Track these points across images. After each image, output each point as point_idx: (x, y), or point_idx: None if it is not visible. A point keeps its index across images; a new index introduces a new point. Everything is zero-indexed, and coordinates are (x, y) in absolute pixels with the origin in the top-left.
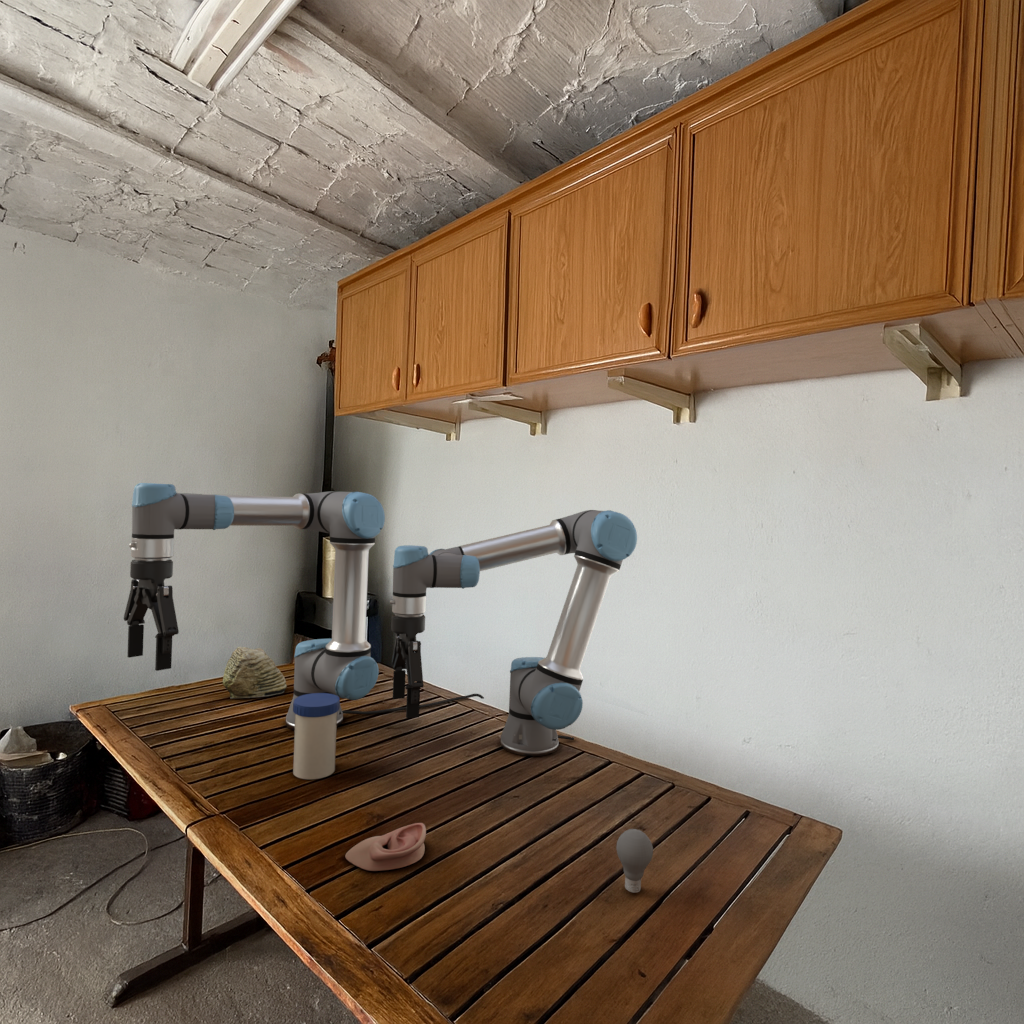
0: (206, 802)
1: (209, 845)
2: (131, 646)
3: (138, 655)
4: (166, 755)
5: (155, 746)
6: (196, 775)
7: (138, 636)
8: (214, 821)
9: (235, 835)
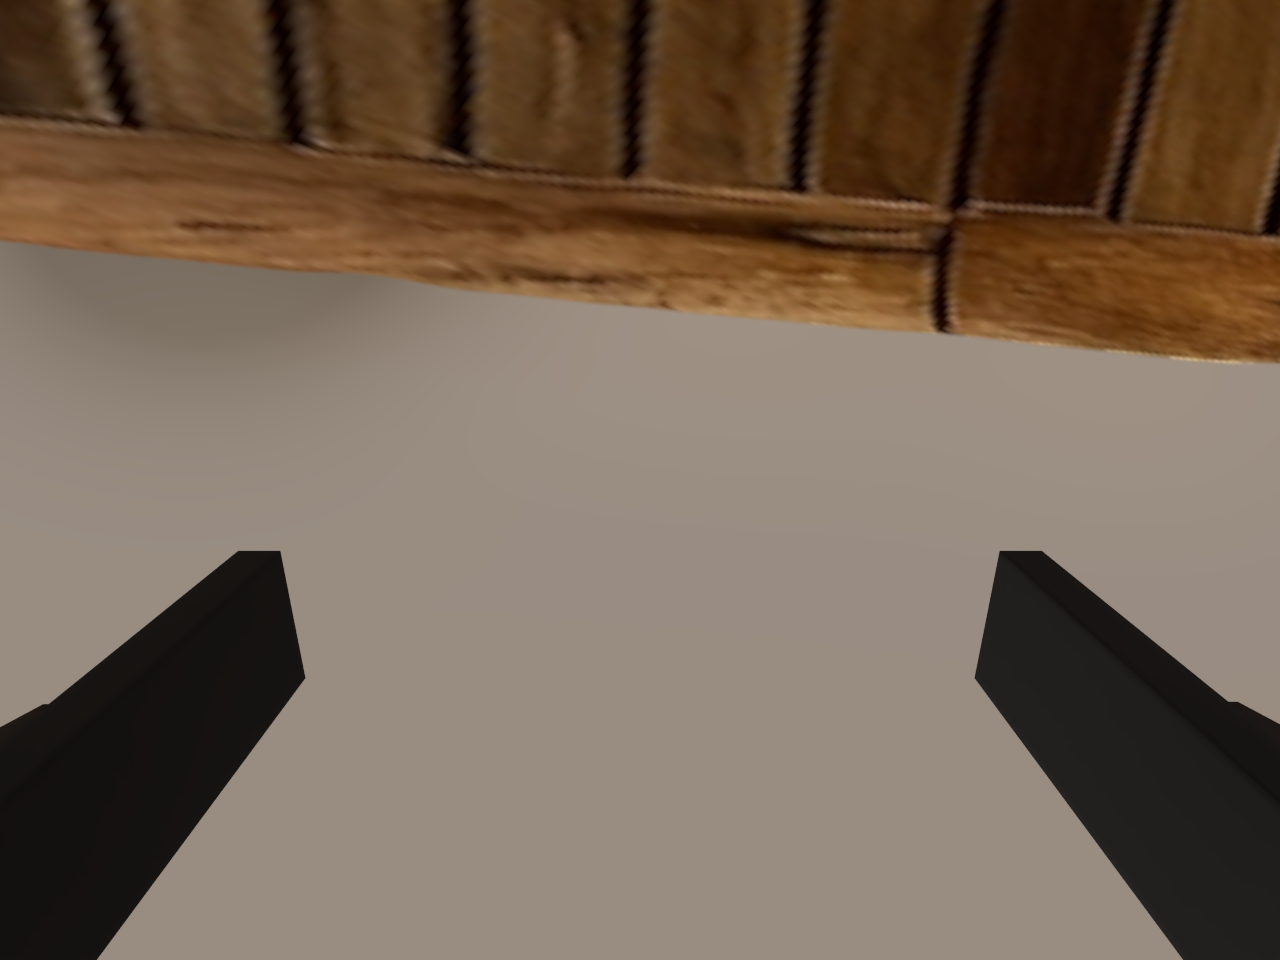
0: (837, 206)
1: (1108, 341)
2: (235, 742)
3: (287, 598)
4: (268, 112)
5: (122, 102)
6: (575, 115)
7: (130, 765)
8: (989, 255)
9: (1131, 251)
